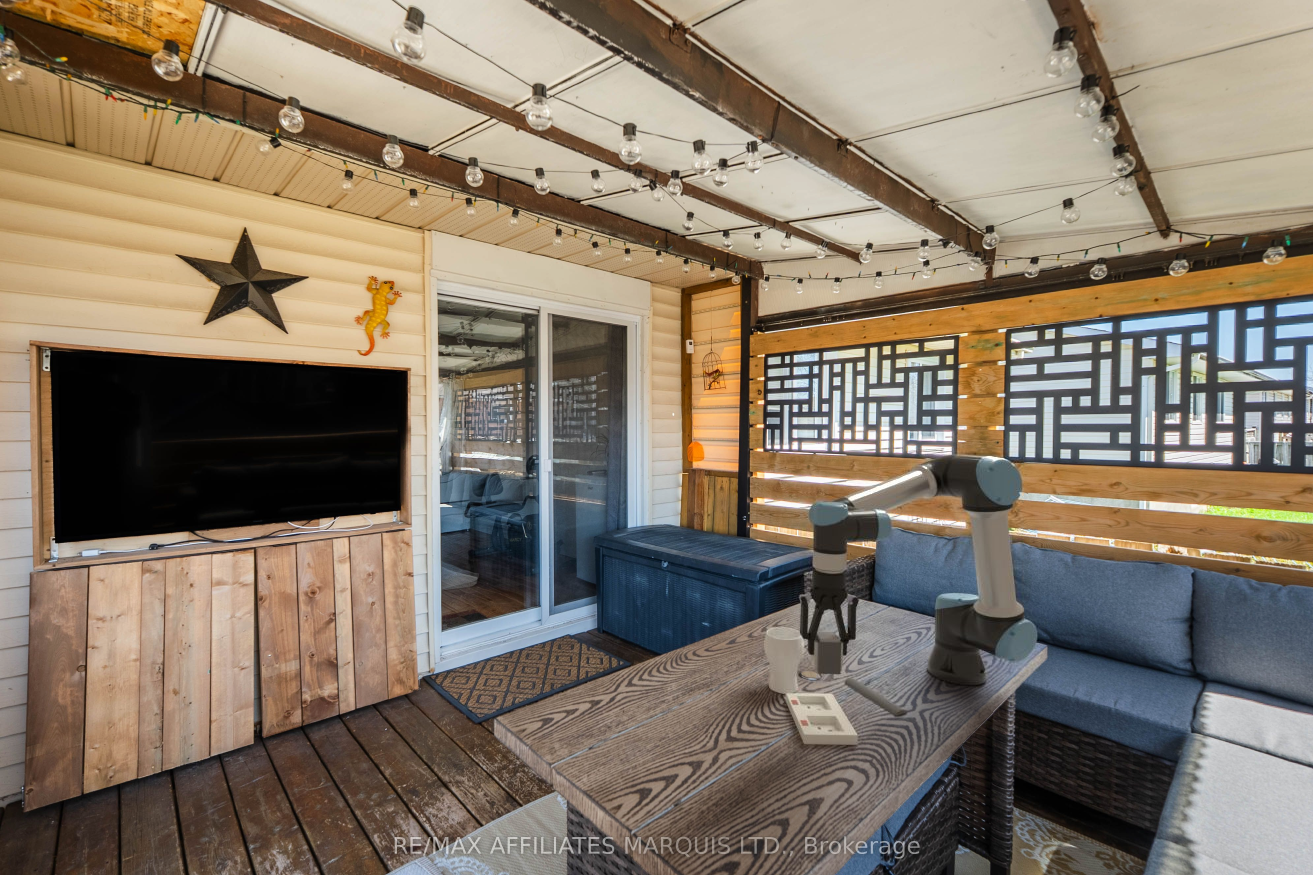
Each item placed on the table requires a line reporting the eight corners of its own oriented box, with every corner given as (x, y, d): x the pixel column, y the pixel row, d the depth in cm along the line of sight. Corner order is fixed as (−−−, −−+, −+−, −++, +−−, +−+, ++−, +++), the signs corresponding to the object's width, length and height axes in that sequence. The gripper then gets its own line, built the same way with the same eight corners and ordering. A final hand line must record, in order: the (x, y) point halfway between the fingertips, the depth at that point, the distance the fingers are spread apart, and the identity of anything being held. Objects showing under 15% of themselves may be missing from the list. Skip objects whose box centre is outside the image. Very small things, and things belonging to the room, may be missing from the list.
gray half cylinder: (855, 682, 165) (855, 676, 165) (908, 715, 147) (908, 708, 147) (843, 685, 164) (843, 678, 164) (895, 718, 146) (895, 711, 146)
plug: (834, 665, 140) (835, 631, 140) (840, 674, 135) (841, 639, 135) (813, 664, 140) (814, 631, 140) (818, 673, 135) (819, 639, 135)
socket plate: (832, 701, 153) (832, 693, 153) (857, 744, 133) (857, 734, 133) (785, 701, 153) (785, 692, 153) (804, 743, 133) (804, 733, 133)
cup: (804, 698, 154) (805, 641, 154) (763, 694, 157) (763, 638, 156) (802, 680, 165) (803, 627, 164) (763, 677, 167) (764, 624, 166)
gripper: (862, 565, 140) (860, 662, 141) (786, 564, 140) (784, 660, 141) (874, 574, 133) (871, 675, 133) (793, 572, 133) (791, 674, 134)
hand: (826, 667), depth 137 cm, fingers closed on plug, 5 cm apart
